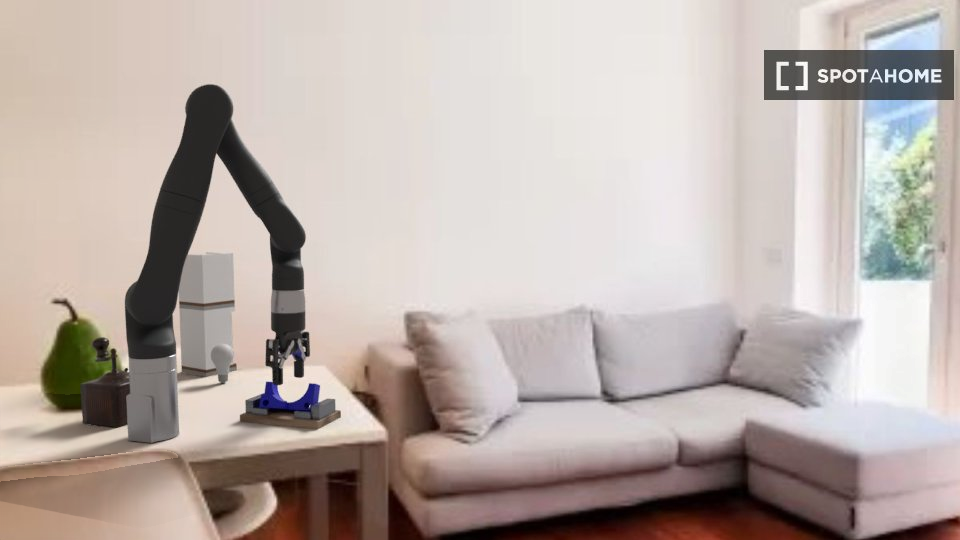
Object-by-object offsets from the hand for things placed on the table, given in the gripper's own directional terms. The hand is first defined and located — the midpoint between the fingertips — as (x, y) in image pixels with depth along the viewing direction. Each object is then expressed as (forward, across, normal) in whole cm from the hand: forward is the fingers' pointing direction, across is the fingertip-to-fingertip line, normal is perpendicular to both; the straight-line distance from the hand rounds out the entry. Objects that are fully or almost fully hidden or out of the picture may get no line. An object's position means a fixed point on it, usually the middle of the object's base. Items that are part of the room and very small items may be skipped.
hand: (288, 380), depth 171 cm
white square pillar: (+9, +38, +52) cm, 65 cm away
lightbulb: (+9, +26, +38) cm, 47 cm away
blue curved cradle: (+7, 0, 0) cm, 7 cm away
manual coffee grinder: (+10, -12, +40) cm, 43 cm away
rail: (+9, 0, 0) cm, 9 cm away
